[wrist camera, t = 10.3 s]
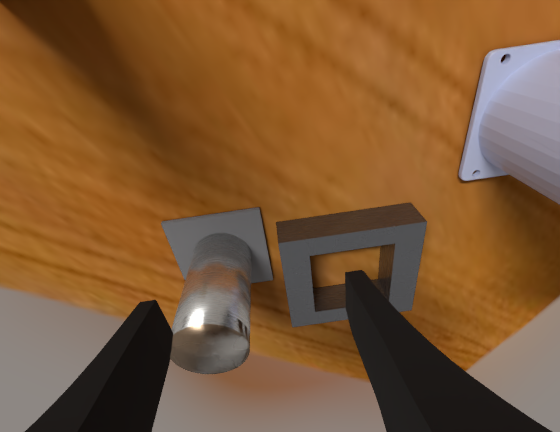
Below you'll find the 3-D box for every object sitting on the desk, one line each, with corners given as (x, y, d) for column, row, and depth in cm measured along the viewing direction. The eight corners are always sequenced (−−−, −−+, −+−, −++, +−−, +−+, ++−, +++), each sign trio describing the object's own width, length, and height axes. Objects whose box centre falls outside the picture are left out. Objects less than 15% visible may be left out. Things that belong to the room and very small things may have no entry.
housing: (410, 202, 22) (427, 221, 20) (399, 287, 27) (411, 310, 25) (276, 222, 22) (278, 243, 20) (289, 303, 27) (292, 327, 25)
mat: (259, 207, 21) (259, 209, 21) (272, 277, 25) (273, 280, 25) (162, 221, 21) (161, 223, 21) (190, 289, 25) (190, 292, 25)
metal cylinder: (250, 232, 22) (247, 321, 15) (252, 276, 24) (251, 371, 18) (189, 233, 22) (159, 326, 15) (197, 278, 24) (174, 376, 17)
